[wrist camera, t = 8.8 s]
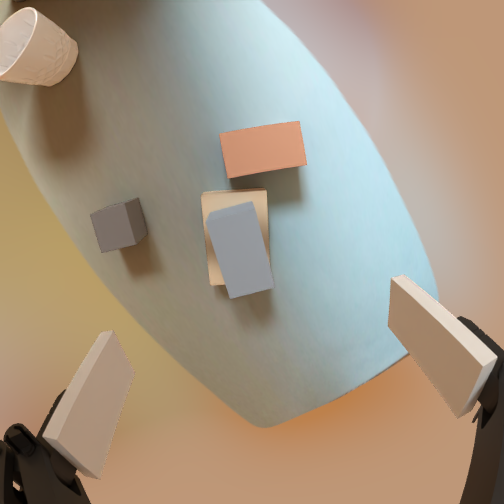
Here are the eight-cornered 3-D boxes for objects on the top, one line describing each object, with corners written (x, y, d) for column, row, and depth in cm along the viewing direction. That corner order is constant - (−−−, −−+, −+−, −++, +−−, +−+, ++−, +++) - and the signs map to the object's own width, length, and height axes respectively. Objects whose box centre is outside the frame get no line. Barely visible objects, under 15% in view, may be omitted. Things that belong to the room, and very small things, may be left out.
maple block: (204, 191, 28) (200, 195, 25) (263, 187, 28) (266, 190, 25) (212, 273, 31) (210, 285, 28) (267, 269, 31) (270, 281, 28)
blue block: (209, 212, 26) (205, 221, 22) (252, 200, 25) (254, 208, 22) (230, 279, 28) (230, 298, 24) (269, 269, 28) (275, 287, 24)
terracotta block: (228, 176, 27) (227, 178, 23) (221, 137, 26) (218, 133, 22) (297, 164, 27) (307, 164, 23) (290, 126, 26) (299, 120, 22)
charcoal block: (106, 206, 27) (90, 214, 23) (138, 197, 27) (124, 203, 23) (116, 241, 28) (101, 253, 25) (148, 233, 28) (136, 244, 25)
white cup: (94, 50, 21) (48, 20, 12) (51, 102, 22) (-4, 92, 13) (65, 25, 19) (22, -2, 9) (26, 73, 20) (-24, 61, 11)
